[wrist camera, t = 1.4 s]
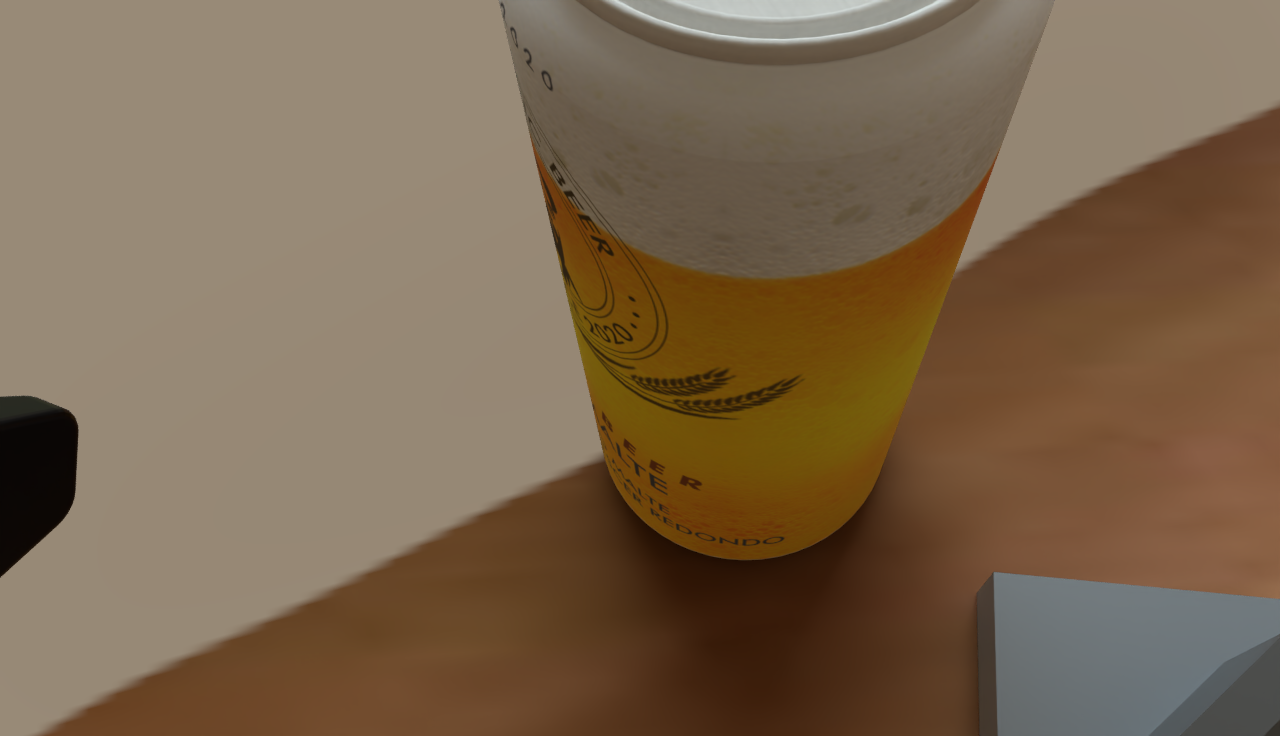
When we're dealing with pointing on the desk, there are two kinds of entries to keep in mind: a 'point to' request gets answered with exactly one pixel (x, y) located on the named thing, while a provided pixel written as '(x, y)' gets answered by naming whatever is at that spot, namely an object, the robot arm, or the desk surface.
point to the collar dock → (1124, 660)
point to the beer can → (761, 233)
